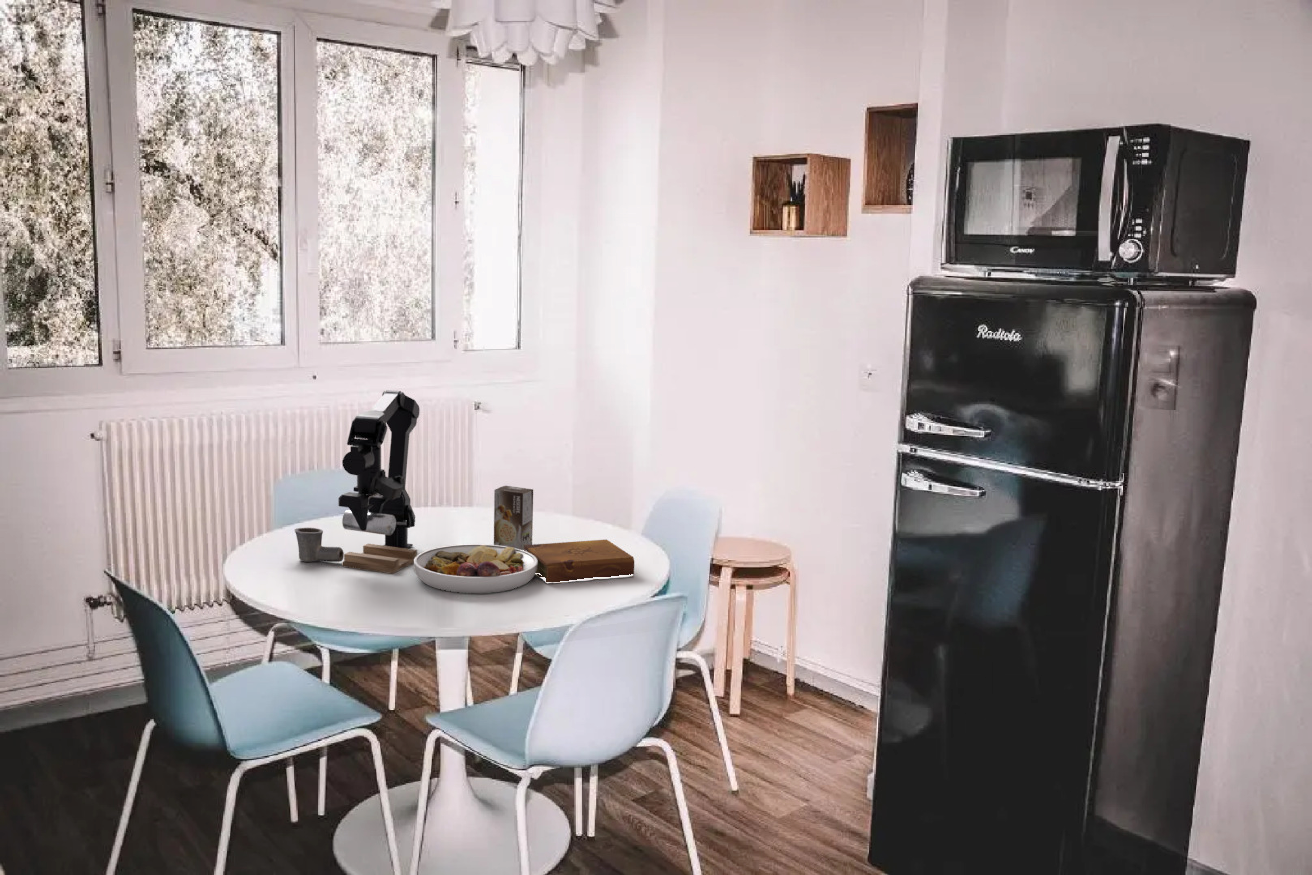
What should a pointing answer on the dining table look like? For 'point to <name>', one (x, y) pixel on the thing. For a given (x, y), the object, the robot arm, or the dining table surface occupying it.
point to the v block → (380, 558)
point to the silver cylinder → (371, 523)
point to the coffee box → (513, 516)
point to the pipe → (316, 547)
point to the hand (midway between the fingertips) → (369, 527)
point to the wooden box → (580, 560)
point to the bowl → (475, 568)
